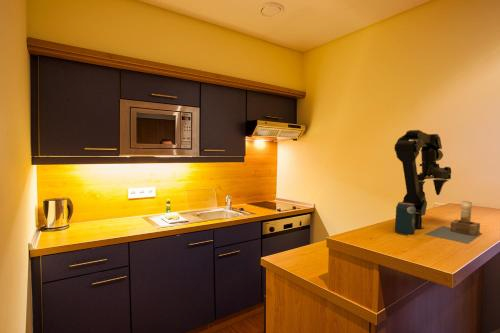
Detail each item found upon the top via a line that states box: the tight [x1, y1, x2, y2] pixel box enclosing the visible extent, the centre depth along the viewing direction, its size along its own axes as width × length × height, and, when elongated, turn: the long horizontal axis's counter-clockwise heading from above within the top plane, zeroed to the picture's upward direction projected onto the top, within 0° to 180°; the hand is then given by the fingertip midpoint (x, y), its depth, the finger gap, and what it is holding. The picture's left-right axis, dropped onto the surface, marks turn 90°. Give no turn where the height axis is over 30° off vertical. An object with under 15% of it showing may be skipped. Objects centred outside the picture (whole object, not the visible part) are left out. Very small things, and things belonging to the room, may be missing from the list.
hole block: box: [450, 218, 481, 236], centre depth 117 cm, size 8×8×4 cm
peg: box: [460, 200, 473, 224], centre depth 117 cm, size 3×3×12 cm
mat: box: [424, 225, 483, 245], centre depth 114 cm, size 22×14×1 cm, turn 130°
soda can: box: [394, 201, 416, 236], centre depth 114 cm, size 7×7×12 cm
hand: (429, 195), depth 131 cm, fingers open, 9 cm apart
